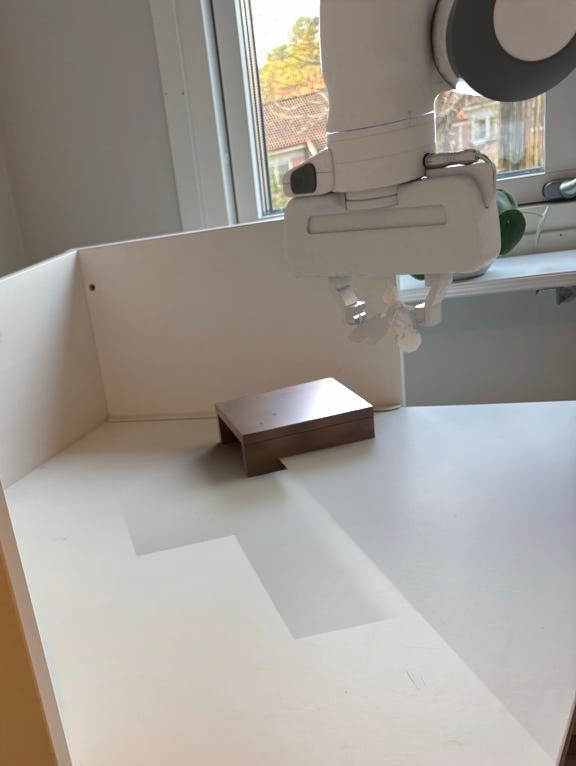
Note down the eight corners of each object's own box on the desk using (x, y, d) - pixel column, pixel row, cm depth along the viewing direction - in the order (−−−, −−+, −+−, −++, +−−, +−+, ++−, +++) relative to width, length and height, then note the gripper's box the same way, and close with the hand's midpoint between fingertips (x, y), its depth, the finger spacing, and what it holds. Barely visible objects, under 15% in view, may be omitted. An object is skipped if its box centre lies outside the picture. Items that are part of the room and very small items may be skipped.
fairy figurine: (382, 350, 84) (358, 287, 87) (370, 395, 91) (347, 336, 93) (451, 333, 84) (424, 271, 87) (433, 379, 91) (409, 320, 93)
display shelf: (334, 415, 123) (331, 377, 120) (376, 448, 109) (373, 406, 107) (219, 441, 123) (214, 403, 120) (247, 477, 109) (242, 435, 107)
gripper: (517, 137, 76) (515, 315, 83) (311, 165, 91) (323, 314, 98) (473, 152, 73) (475, 336, 79) (267, 179, 88) (283, 331, 94)
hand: (389, 324), depth 89 cm, fingers closed on fairy figurine, 6 cm apart
